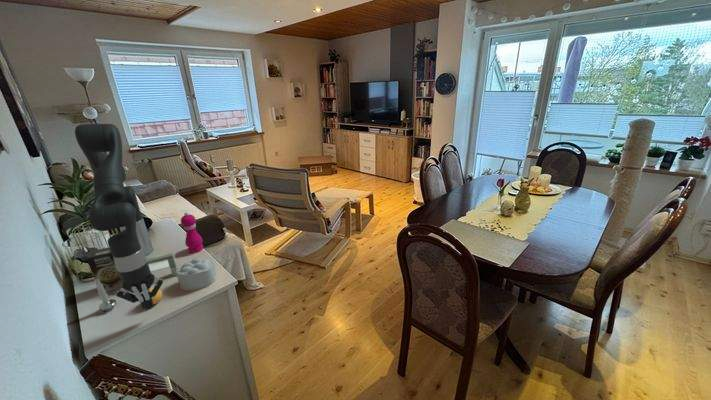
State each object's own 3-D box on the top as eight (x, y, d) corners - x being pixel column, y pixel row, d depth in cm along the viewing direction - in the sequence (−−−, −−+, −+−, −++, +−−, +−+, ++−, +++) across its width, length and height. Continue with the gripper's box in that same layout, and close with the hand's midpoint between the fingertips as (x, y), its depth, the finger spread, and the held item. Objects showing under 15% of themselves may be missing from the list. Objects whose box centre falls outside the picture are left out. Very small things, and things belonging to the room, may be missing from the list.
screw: (120, 302, 105) (113, 312, 100) (105, 305, 104) (97, 314, 99) (108, 273, 100) (99, 282, 95) (92, 275, 99) (83, 284, 95)
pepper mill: (207, 248, 139) (197, 210, 132) (193, 255, 134) (182, 216, 126) (199, 244, 143) (189, 208, 136) (184, 251, 137) (173, 213, 130)
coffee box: (100, 294, 110) (84, 258, 104) (105, 284, 115) (90, 250, 109) (129, 286, 113) (115, 251, 108) (132, 277, 119) (119, 244, 113)
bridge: (136, 283, 115) (128, 263, 112) (178, 271, 122) (172, 252, 118) (135, 287, 113) (127, 267, 109) (178, 275, 119) (172, 255, 116)
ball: (145, 300, 105) (140, 287, 103) (164, 294, 108) (160, 281, 106) (144, 310, 100) (138, 297, 98) (163, 304, 103) (159, 291, 101)
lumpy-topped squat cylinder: (214, 285, 112) (209, 267, 109) (177, 293, 109) (171, 275, 105) (217, 271, 122) (212, 253, 118) (183, 278, 118) (177, 260, 115)
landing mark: (145, 260, 131) (145, 260, 131) (175, 252, 136) (175, 252, 136) (142, 274, 121) (142, 273, 121) (174, 265, 126) (174, 264, 126)
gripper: (158, 252, 95) (172, 294, 101) (108, 265, 89) (126, 308, 95) (156, 263, 89) (171, 307, 95) (102, 277, 83) (122, 323, 89)
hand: (148, 308), depth 95 cm, fingers closed
